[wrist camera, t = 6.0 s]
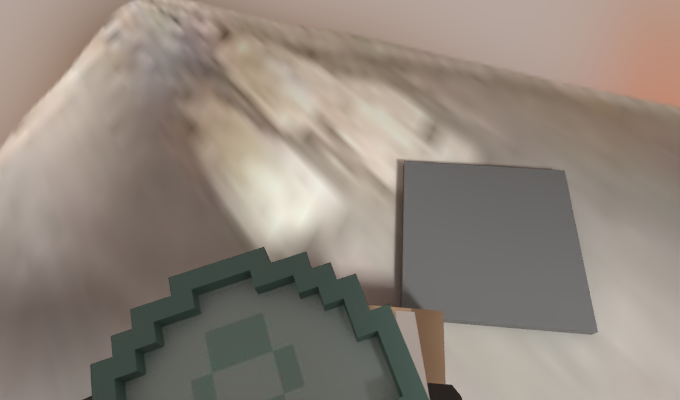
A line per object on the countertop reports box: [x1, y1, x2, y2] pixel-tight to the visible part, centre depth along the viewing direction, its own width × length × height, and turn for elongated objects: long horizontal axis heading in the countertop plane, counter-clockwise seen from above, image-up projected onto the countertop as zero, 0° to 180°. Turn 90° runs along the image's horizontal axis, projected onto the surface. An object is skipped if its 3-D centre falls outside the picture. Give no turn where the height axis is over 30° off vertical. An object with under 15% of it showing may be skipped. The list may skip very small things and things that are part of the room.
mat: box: [401, 161, 598, 334], centre depth 25 cm, size 10×10×1 cm
